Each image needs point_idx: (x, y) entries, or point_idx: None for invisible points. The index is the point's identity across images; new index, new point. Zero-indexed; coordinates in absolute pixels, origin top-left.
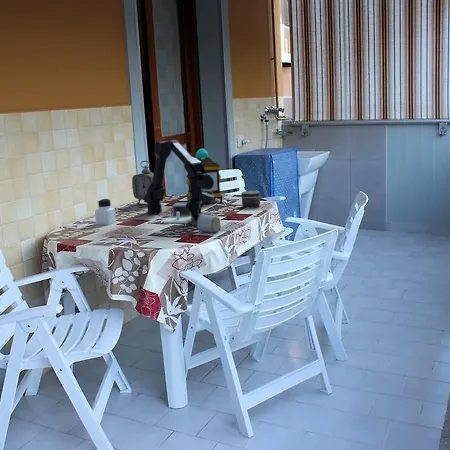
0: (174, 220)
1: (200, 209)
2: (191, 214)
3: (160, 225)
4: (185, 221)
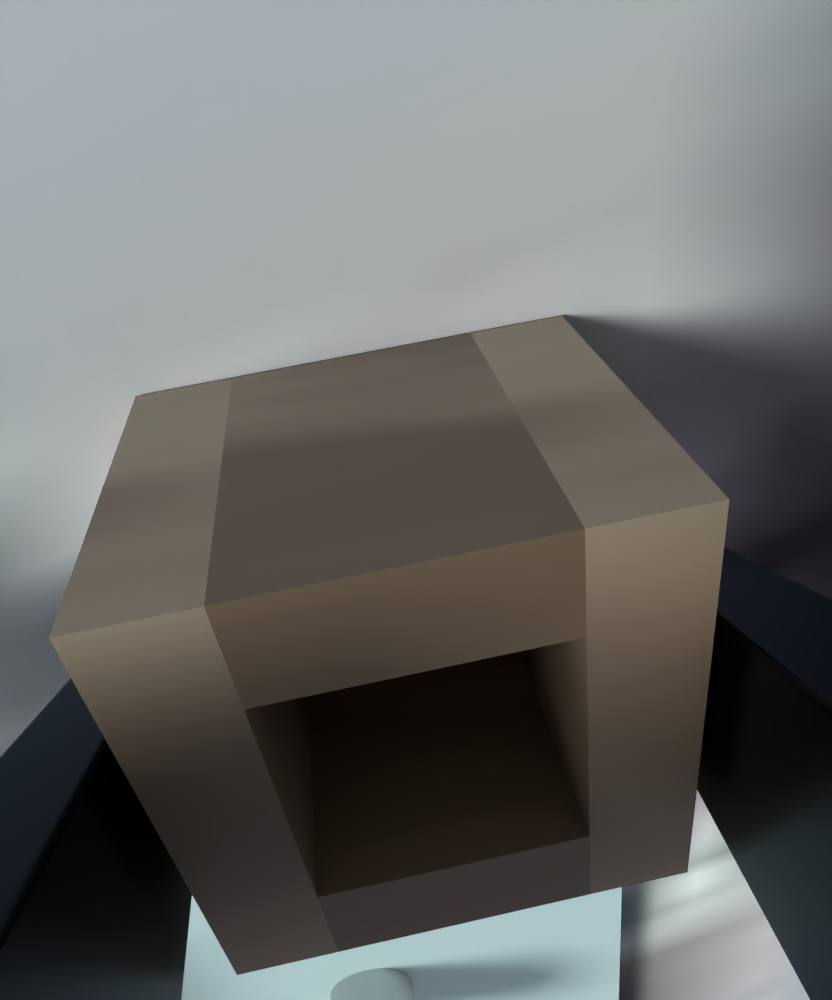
0: (524, 982)
1: (16, 962)
2: (617, 881)
3: (753, 983)
4: None
